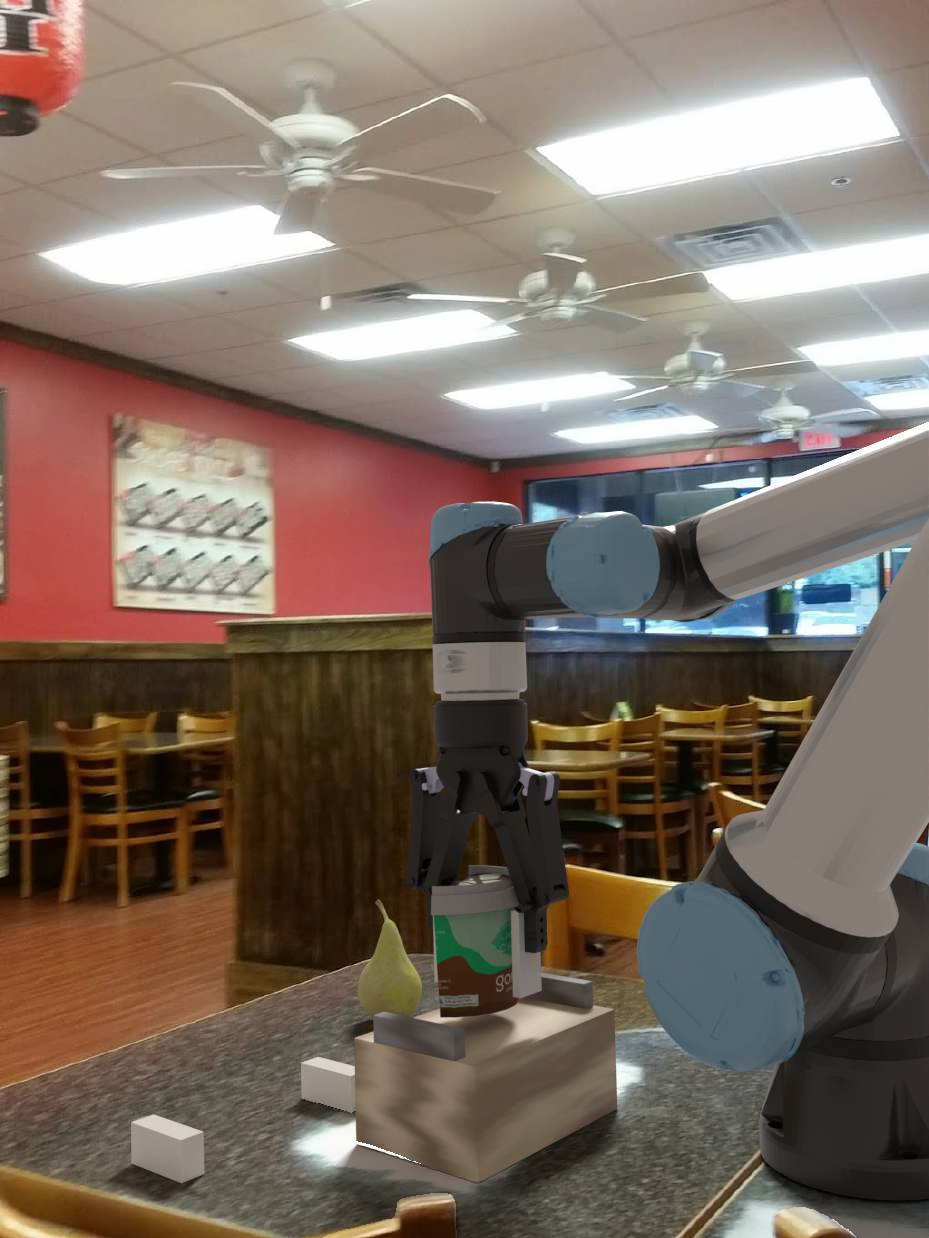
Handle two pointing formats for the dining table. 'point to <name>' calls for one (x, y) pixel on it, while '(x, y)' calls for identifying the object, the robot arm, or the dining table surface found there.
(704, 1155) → the dining table surface
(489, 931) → the food container
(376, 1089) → the wooden stand
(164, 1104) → the dining table surface
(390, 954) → the fruit
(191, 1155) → the pair of white blocks
